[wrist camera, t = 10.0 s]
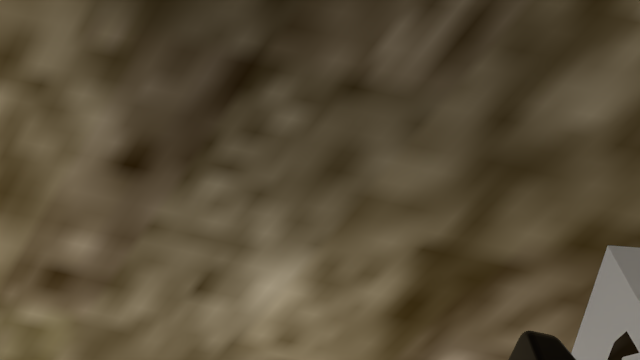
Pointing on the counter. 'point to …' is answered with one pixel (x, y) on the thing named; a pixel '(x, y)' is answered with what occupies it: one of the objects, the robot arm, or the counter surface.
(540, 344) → the robot arm
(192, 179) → the counter surface
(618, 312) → the grater
